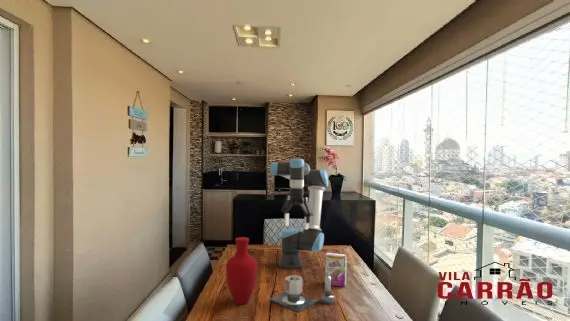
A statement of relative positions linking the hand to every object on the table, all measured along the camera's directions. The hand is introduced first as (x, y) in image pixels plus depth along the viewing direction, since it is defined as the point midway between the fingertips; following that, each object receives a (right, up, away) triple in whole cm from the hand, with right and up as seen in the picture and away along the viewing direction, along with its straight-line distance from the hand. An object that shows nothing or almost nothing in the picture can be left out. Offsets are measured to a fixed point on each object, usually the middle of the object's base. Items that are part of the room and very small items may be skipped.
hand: (296, 227), depth 172 cm
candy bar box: (+21, -32, +3) cm, 39 cm away
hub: (-2, -32, -19) cm, 37 cm away
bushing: (-2, -27, -19) cm, 33 cm away
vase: (-27, -31, -19) cm, 46 cm away
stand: (+14, -32, -18) cm, 39 cm away
